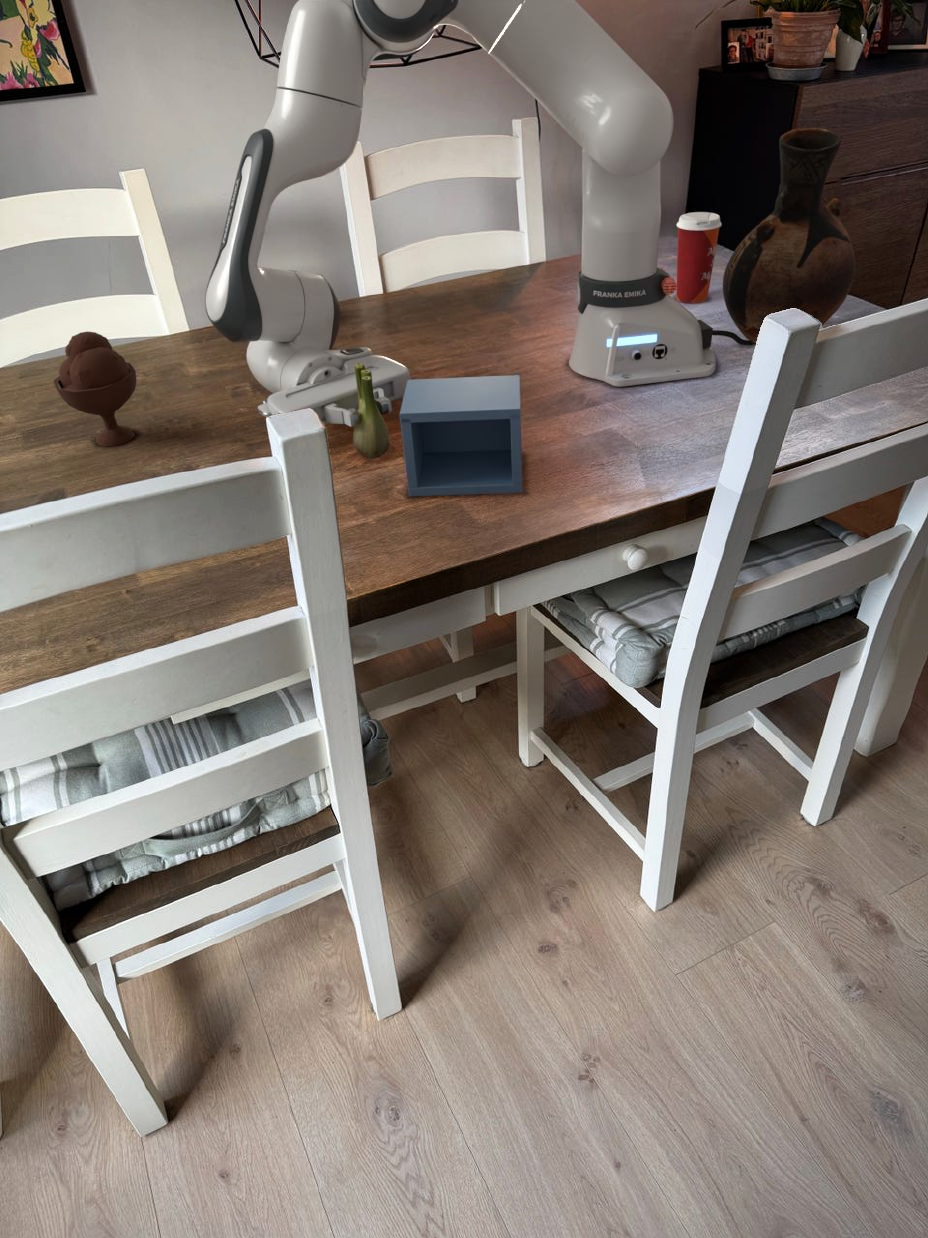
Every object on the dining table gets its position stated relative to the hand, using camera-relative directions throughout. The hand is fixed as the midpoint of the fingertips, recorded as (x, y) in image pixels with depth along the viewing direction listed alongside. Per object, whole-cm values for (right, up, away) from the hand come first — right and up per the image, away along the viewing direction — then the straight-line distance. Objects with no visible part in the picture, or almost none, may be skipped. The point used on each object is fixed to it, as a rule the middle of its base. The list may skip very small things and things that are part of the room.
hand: (371, 413), depth 111 cm
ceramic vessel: (+63, +18, +28) cm, 71 cm away
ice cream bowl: (-39, 0, +13) cm, 41 cm away
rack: (+12, -8, -2) cm, 15 cm away
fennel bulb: (0, -4, +4) cm, 6 cm away
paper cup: (+54, +32, +46) cm, 78 cm away
